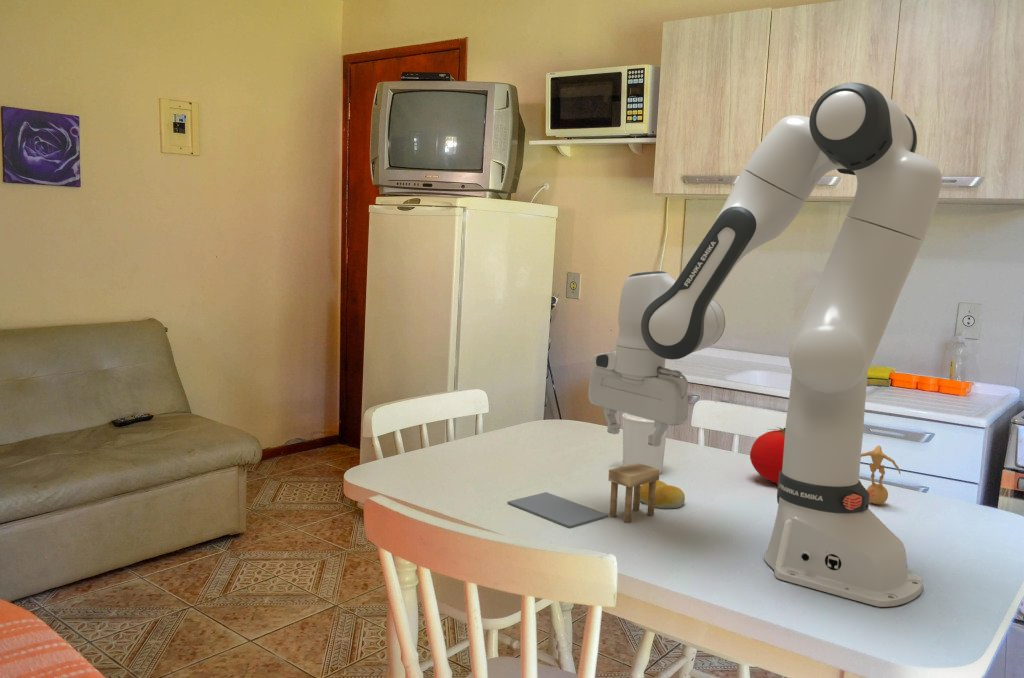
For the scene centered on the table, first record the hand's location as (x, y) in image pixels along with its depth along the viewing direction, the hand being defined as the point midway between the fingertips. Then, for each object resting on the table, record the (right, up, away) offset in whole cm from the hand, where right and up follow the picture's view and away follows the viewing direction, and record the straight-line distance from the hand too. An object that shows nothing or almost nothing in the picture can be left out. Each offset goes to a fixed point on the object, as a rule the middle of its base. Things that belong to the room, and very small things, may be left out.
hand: (633, 439), depth 146 cm
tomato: (+35, -13, +26) cm, 46 cm away
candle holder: (+7, -11, +31) cm, 34 cm away
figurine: (+49, -15, +13) cm, 52 cm away
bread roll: (+7, -14, +10) cm, 18 cm away
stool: (0, -14, +1) cm, 14 cm away
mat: (-13, -13, +3) cm, 19 cm away
